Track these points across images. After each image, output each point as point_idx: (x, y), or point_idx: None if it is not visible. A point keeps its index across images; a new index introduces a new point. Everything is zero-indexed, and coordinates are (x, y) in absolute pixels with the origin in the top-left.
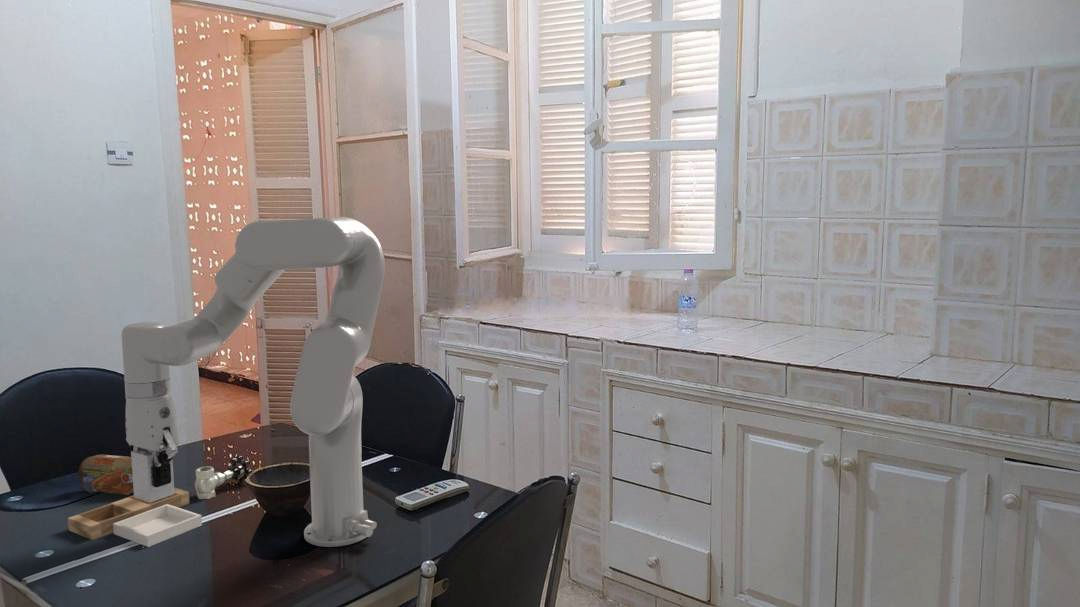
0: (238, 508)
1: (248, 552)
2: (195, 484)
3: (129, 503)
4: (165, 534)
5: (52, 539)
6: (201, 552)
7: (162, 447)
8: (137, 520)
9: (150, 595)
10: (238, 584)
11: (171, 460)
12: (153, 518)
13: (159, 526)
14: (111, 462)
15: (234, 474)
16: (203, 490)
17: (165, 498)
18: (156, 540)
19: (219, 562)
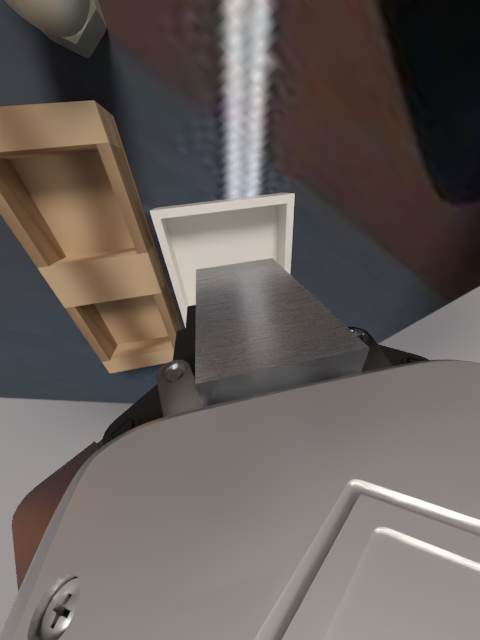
0: (257, 3)
1: (439, 202)
2: (37, 21)
3: (96, 281)
4: None
5: (131, 371)
6: (362, 255)
7: (294, 374)
8: (181, 287)
9: (378, 339)
10: (466, 270)
11: (369, 336)
12: (173, 251)
13: (218, 257)
14: None
15: None
16: (86, 18)
17: (32, 155)
18: None
19: (410, 254)
